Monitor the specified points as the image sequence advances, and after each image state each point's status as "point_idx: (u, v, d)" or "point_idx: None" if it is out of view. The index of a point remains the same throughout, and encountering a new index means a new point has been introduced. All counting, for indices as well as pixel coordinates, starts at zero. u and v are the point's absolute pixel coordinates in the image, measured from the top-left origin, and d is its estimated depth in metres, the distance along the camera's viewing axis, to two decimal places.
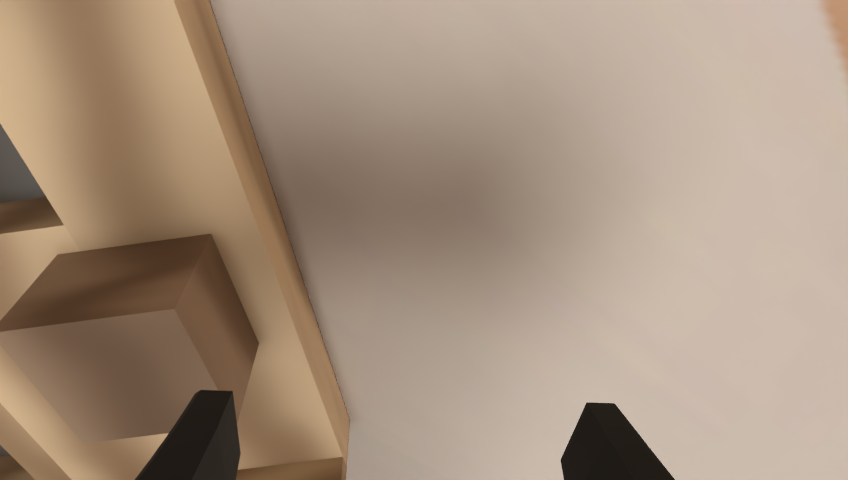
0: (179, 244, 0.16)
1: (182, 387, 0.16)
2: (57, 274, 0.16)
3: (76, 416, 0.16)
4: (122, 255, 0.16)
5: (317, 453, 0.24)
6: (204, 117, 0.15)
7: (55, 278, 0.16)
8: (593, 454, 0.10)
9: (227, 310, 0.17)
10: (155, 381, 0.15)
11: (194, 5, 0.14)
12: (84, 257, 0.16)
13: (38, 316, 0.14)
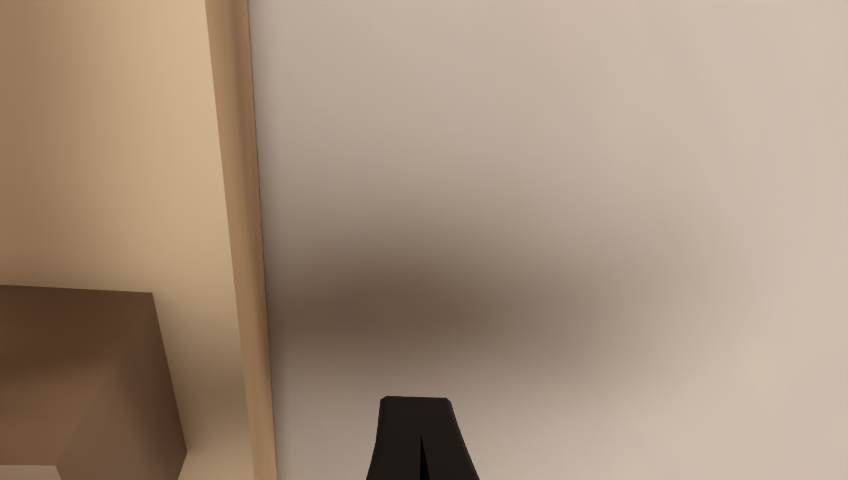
0: (91, 304, 0.09)
1: None
2: None
3: None
4: None
5: None
6: (193, 105, 0.08)
7: None
8: None
9: (152, 420, 0.10)
10: None
11: None
12: None
13: None
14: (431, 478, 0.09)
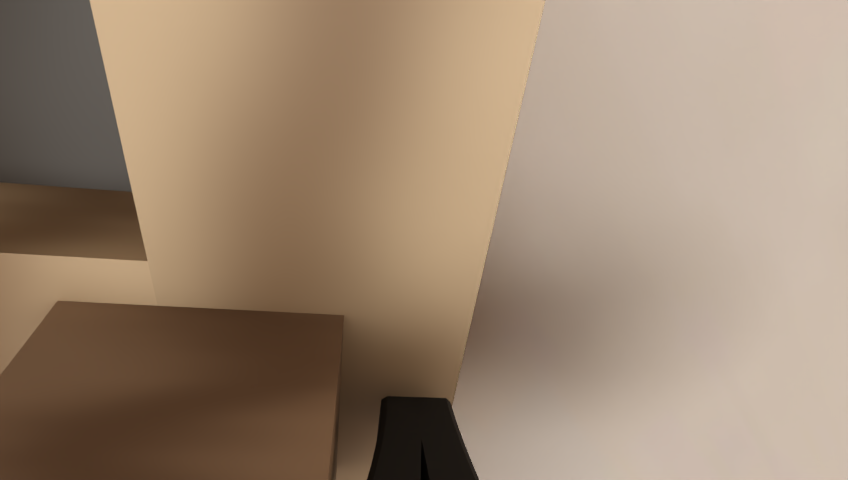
0: (292, 327, 0.09)
1: None
2: (61, 350, 0.08)
3: None
4: (188, 332, 0.09)
5: None
6: (491, 139, 0.08)
7: (57, 360, 0.08)
8: None
9: (335, 440, 0.10)
10: None
11: None
12: (111, 320, 0.09)
13: (27, 461, 0.07)
14: (430, 478, 0.09)
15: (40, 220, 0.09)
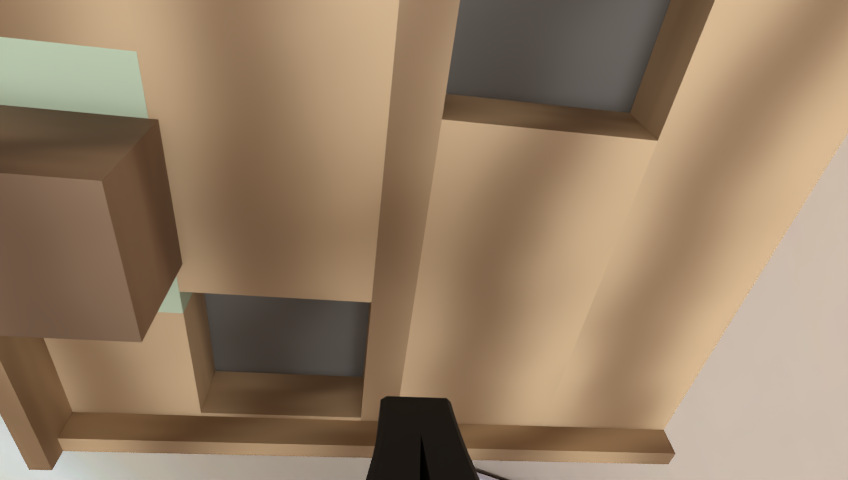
0: (117, 121, 0.14)
1: (86, 283, 0.13)
2: None
3: None
4: (43, 118, 0.14)
5: (646, 422, 0.24)
6: None
7: None
8: None
9: (157, 212, 0.15)
10: (54, 269, 0.13)
11: None
12: None
13: None
14: (431, 478, 0.09)
15: (577, 120, 0.16)
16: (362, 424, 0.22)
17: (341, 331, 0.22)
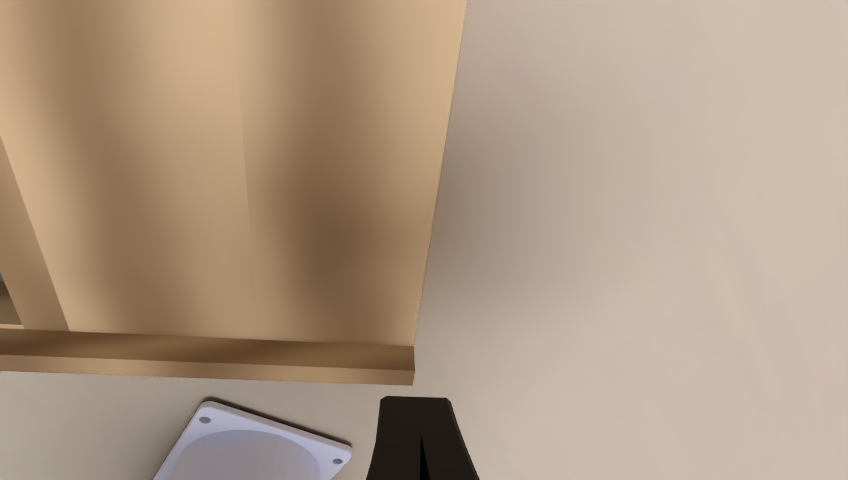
0: None
1: None
2: None
3: None
4: None
5: (387, 335, 0.20)
6: None
7: None
8: None
9: None
10: None
11: None
12: None
13: None
14: (431, 478, 0.09)
15: None
16: (24, 332, 0.18)
17: None
